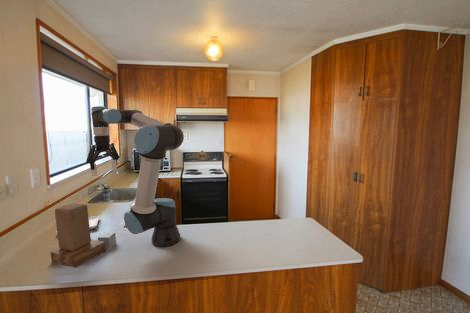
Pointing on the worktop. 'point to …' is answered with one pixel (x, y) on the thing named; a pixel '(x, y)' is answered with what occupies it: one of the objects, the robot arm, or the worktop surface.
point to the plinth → (78, 254)
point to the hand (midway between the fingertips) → (105, 173)
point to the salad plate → (92, 222)
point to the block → (72, 226)
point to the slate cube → (108, 239)
